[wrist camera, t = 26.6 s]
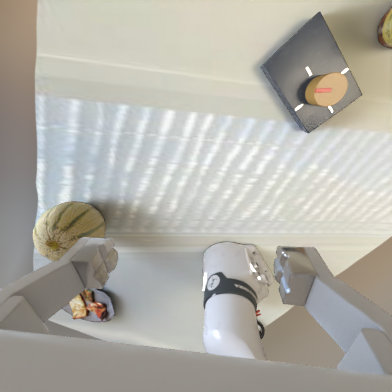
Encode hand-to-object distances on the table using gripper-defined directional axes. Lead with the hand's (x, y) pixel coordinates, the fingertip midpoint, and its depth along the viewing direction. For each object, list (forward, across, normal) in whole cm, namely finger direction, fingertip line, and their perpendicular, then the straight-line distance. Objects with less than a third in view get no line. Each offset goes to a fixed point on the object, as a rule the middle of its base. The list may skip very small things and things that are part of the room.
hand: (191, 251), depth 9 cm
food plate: (+33, -50, -61) cm, 85 cm away
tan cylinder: (+30, +17, +7) cm, 35 cm away
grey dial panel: (+33, +16, +8) cm, 38 cm away
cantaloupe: (+33, -35, -21) cm, 52 cm away
